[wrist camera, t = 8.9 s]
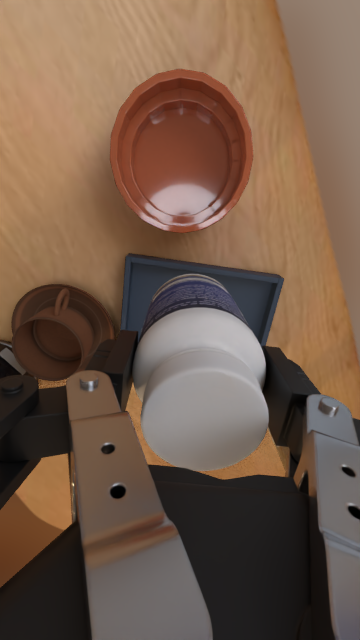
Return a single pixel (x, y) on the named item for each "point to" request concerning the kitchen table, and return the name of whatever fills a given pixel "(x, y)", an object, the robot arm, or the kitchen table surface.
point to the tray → (243, 285)
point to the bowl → (181, 151)
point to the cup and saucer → (58, 331)
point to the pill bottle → (199, 377)
